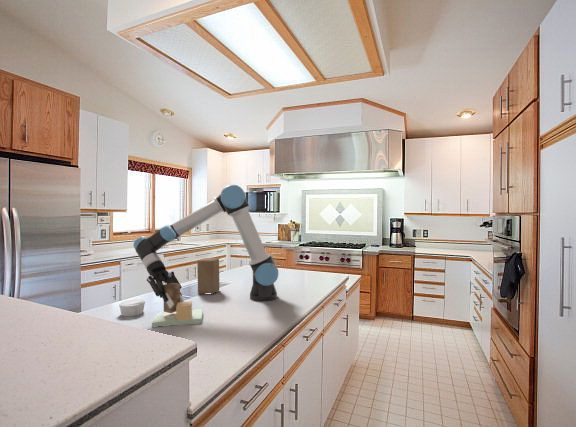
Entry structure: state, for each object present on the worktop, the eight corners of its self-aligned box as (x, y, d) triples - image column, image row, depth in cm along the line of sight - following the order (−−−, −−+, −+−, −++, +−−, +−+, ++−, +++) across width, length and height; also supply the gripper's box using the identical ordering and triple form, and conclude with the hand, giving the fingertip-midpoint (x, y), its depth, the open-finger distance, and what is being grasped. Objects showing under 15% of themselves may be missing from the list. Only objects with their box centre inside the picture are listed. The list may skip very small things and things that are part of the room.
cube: (192, 314, 144) (191, 301, 144) (191, 319, 138) (190, 305, 138) (178, 316, 142) (177, 302, 142) (176, 320, 137) (176, 306, 137)
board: (202, 313, 152) (202, 308, 152) (201, 323, 139) (201, 318, 139) (157, 316, 148) (157, 312, 148) (152, 327, 134) (151, 322, 134)
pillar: (173, 308, 148) (172, 282, 148) (180, 310, 145) (179, 283, 145) (163, 311, 144) (163, 284, 144) (170, 313, 141) (170, 286, 141)
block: (213, 295, 186) (212, 260, 186) (197, 294, 188) (196, 260, 188) (220, 290, 196) (219, 258, 195) (204, 290, 198) (204, 257, 197)
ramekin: (132, 318, 147) (131, 306, 147) (113, 315, 150) (113, 304, 150) (150, 311, 157) (150, 300, 157) (132, 309, 161) (132, 298, 161)
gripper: (166, 267, 160) (189, 304, 151) (132, 273, 145) (155, 315, 136) (173, 257, 157) (197, 295, 149) (139, 262, 142) (163, 304, 133)
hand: (177, 304), depth 142 cm, fingers closed on pillar, 5 cm apart
